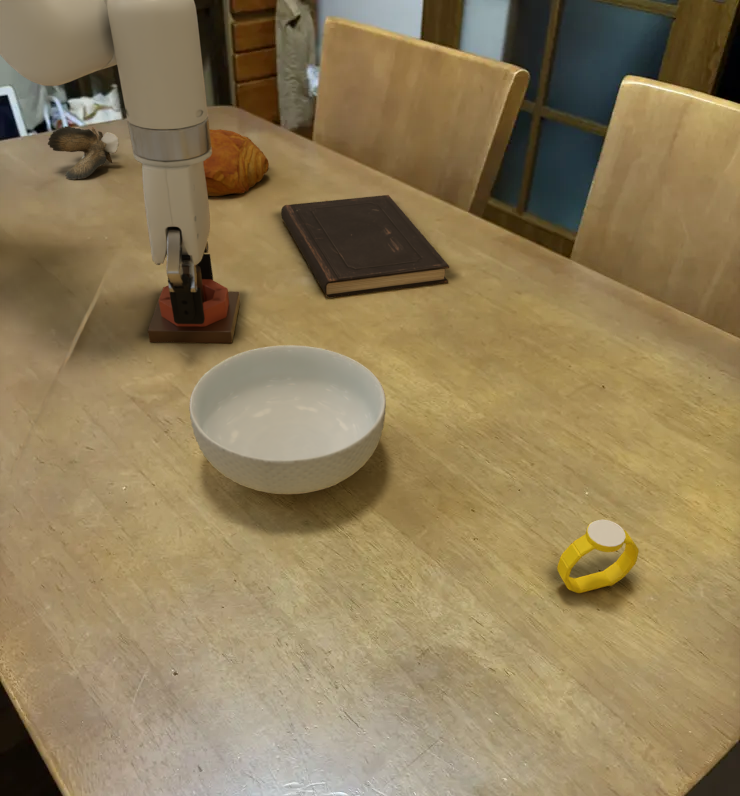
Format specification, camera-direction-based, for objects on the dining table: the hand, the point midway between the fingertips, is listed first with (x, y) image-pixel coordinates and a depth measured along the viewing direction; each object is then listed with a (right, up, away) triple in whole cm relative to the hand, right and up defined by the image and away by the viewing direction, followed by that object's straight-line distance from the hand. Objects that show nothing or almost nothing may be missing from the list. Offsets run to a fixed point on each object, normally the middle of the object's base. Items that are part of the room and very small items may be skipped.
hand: (194, 303), depth 84 cm
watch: (+37, -29, -25) cm, 53 cm away
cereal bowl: (+12, -18, -15) cm, 27 cm away
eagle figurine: (-24, +30, +34) cm, 52 cm away
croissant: (-4, +27, +32) cm, 42 cm away
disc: (0, -1, +1) cm, 1 cm away
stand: (0, -2, +2) cm, 2 cm away
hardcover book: (+18, +11, +16) cm, 27 cm away
